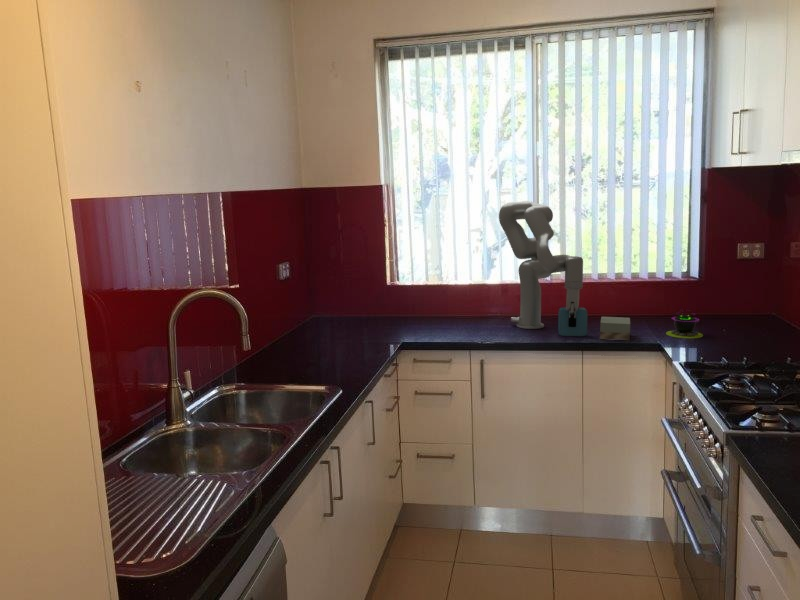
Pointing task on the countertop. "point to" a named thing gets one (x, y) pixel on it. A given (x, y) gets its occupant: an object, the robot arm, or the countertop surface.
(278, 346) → the countertop surface
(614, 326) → the pale grey flat block
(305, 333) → the countertop surface
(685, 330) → the toy cauldron
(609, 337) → the tower bottom
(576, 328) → the data package
